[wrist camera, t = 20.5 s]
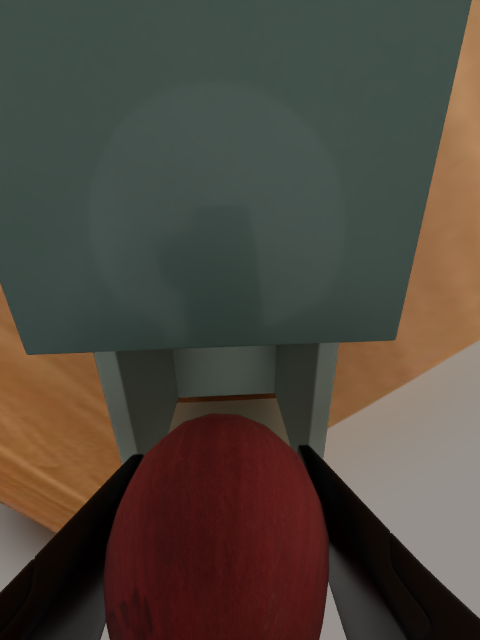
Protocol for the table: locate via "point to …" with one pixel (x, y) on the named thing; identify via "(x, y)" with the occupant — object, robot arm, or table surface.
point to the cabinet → (216, 167)
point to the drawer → (219, 390)
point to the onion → (218, 540)
